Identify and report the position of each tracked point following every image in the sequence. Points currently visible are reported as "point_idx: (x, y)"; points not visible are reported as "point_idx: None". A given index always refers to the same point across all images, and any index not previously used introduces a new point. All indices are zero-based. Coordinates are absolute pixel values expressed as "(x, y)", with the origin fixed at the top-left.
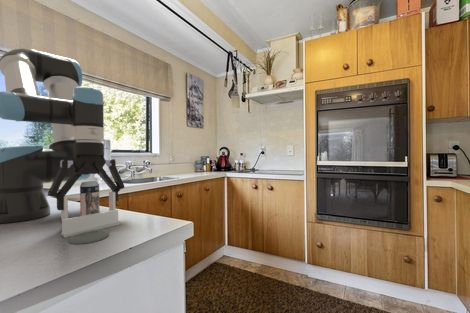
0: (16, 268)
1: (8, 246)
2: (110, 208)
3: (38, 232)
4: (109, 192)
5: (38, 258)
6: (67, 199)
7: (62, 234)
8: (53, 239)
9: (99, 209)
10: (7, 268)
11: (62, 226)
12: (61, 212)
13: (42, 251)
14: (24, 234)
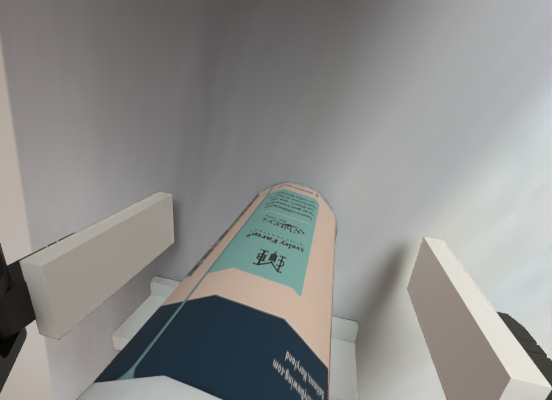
0: (64, 386)
1: (37, 242)
2: (426, 272)
3: (103, 159)
4: (496, 380)
5: (93, 380)
6: (69, 329)
7: (153, 293)
8: (131, 295)
9: (333, 277)
10: (53, 373)
11: (133, 315)
12: (124, 210)
13: (101, 354)
14: (63, 138)
